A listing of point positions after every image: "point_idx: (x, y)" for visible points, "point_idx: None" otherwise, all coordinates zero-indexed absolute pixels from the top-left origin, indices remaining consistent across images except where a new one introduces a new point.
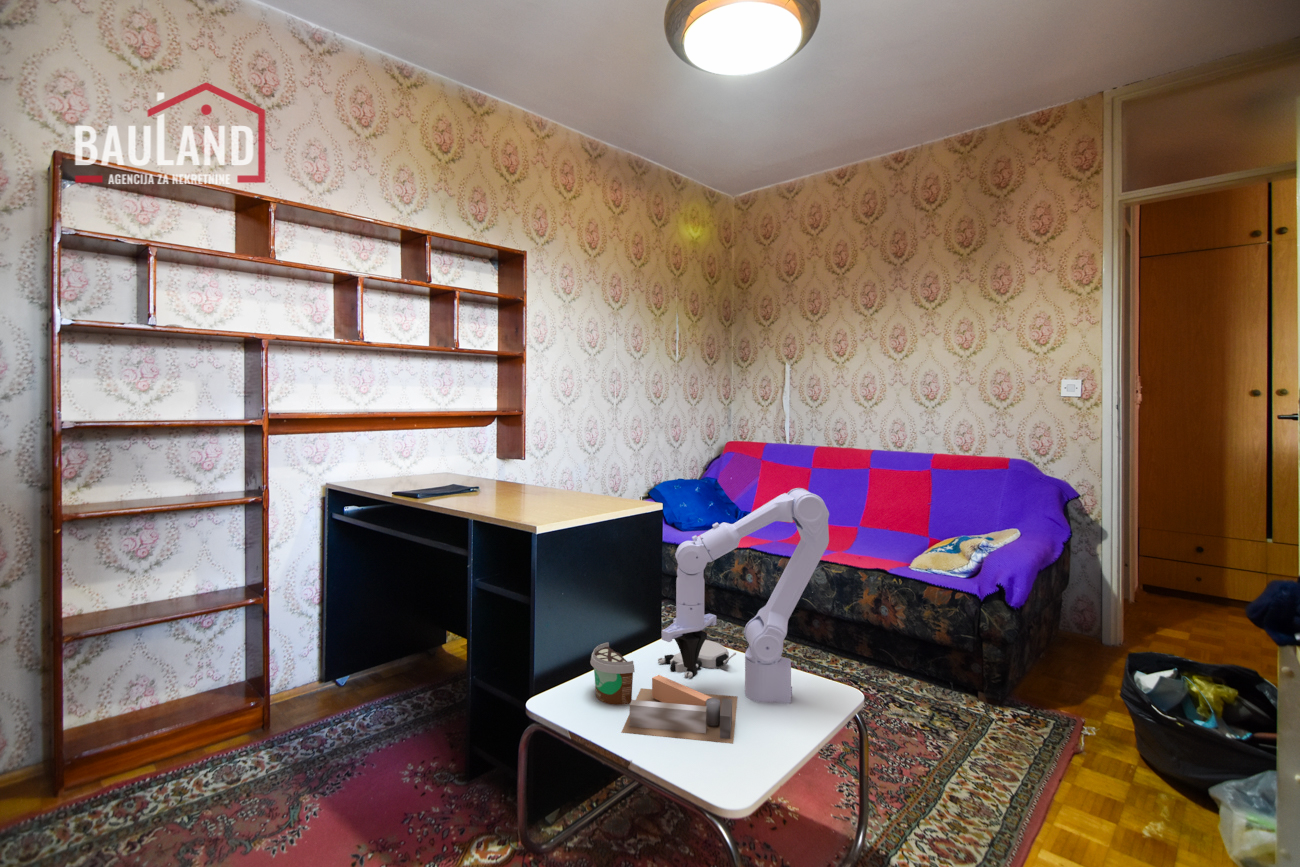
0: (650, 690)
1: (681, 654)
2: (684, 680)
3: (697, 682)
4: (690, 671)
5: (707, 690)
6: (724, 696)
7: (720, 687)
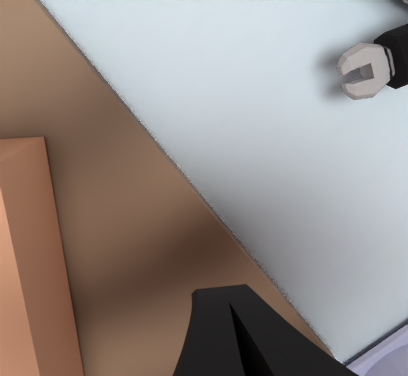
0: (42, 44)
1: (181, 356)
2: (348, 29)
3: (375, 100)
4: (394, 62)
5: (335, 199)
6: None
7: (401, 216)
